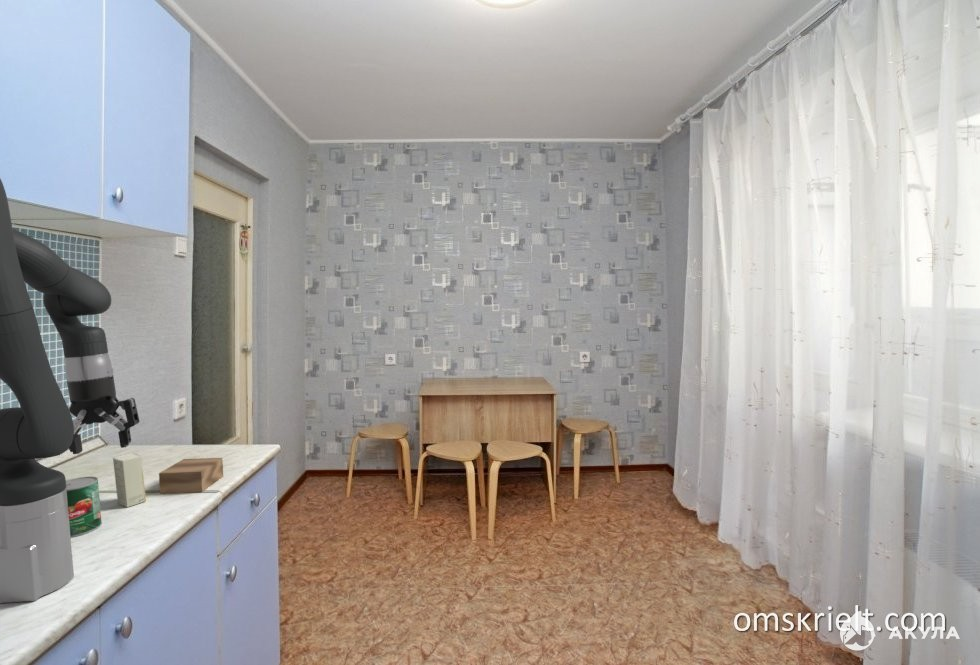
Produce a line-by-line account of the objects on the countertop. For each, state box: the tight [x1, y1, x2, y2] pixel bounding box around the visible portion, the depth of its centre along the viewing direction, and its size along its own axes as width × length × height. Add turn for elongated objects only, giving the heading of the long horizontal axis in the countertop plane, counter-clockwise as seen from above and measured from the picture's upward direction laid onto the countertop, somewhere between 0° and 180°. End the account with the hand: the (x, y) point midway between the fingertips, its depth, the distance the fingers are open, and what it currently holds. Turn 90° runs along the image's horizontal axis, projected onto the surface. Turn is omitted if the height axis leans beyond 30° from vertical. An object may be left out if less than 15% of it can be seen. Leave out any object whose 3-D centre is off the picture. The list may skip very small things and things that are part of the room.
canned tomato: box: [66, 476, 103, 538], centre depth 104 cm, size 8×8×11 cm
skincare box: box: [112, 452, 147, 508], centre depth 118 cm, size 6×4×12 cm
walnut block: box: [158, 457, 224, 495], centre depth 129 cm, size 11×11×6 cm
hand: (101, 449), depth 99 cm, fingers open, 8 cm apart
